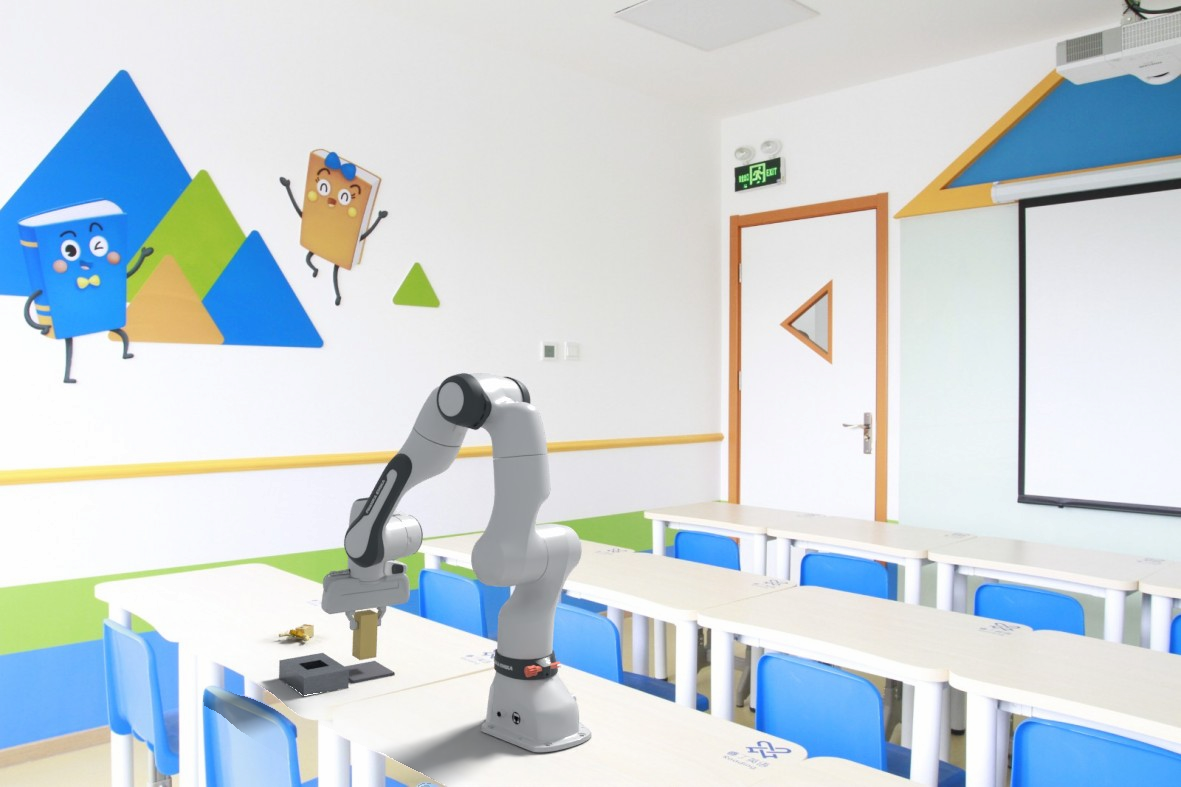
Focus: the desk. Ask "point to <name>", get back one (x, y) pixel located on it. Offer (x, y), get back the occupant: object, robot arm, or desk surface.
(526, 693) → the robot arm
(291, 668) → the grey block with hole
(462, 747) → the desk surface
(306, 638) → the character toy
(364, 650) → the square block
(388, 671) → the rubber mat
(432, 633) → the desk surface
